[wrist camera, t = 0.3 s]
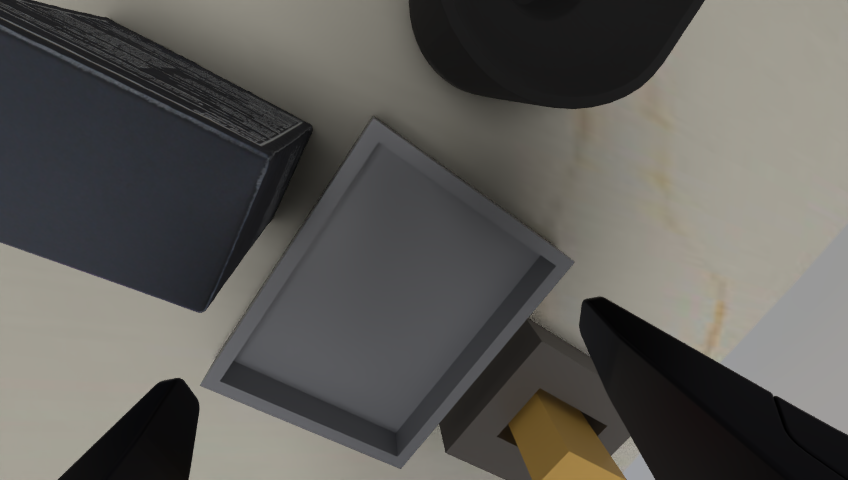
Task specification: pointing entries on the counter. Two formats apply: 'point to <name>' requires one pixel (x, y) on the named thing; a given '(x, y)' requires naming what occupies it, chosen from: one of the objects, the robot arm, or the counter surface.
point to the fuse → (560, 442)
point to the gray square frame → (513, 387)
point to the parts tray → (386, 302)
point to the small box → (132, 155)
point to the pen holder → (549, 46)
